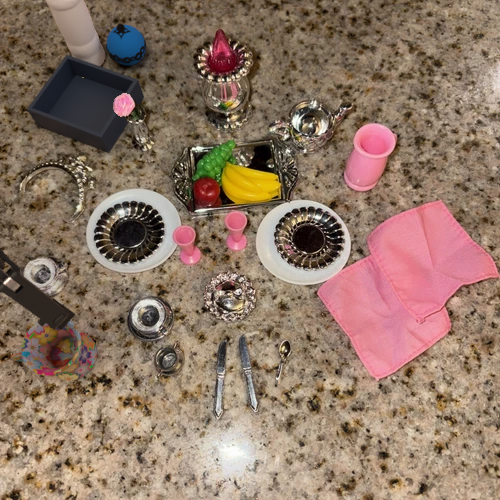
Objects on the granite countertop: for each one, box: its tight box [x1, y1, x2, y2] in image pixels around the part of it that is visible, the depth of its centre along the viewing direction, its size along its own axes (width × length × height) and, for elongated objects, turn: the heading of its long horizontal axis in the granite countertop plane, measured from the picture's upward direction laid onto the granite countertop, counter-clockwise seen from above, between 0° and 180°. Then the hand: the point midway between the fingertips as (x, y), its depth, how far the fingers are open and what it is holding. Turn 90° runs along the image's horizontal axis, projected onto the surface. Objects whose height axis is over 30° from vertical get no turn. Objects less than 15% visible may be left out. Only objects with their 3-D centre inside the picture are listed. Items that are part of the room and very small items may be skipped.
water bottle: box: [44, 0, 106, 67], centre depth 100 cm, size 7×7×25 cm
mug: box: [10, 320, 98, 382], centre depth 82 cm, size 12×9×11 cm
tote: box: [26, 54, 145, 154], centre depth 104 cm, size 18×16×6 cm
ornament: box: [105, 22, 147, 67], centre depth 107 cm, size 9×9×10 cm
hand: (32, 291), depth 68 cm, fingers open, 13 cm apart
